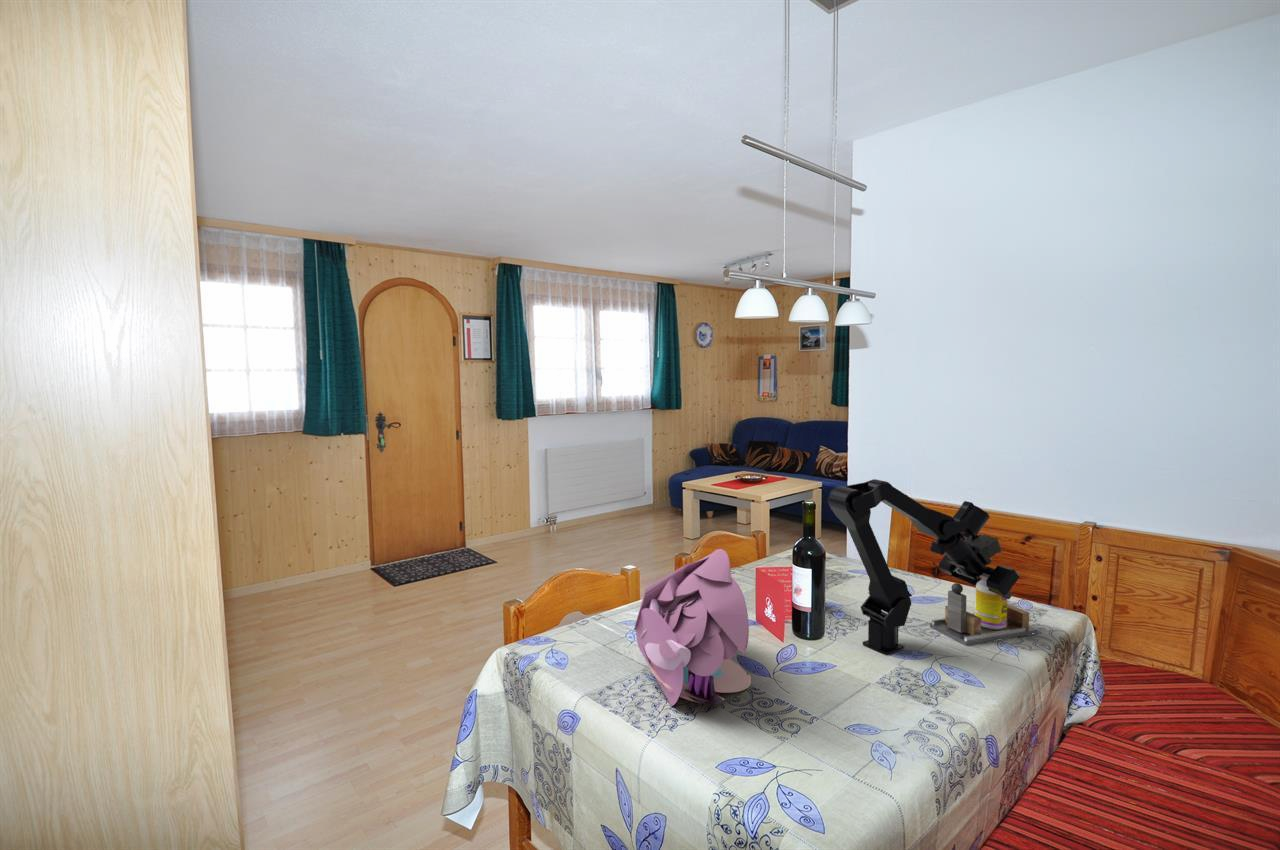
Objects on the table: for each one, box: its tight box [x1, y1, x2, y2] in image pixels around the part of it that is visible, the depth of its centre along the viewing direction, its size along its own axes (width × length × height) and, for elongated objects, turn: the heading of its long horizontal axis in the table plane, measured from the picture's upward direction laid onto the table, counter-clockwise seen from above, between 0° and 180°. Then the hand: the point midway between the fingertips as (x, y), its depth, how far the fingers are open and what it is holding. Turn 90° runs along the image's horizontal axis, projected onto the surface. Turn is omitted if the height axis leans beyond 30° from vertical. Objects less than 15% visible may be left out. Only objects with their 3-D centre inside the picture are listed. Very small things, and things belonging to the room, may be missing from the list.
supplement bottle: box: [974, 575, 1008, 630], centre depth 142 cm, size 7×7×13 cm
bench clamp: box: [929, 603, 1038, 646], centre depth 142 cm, size 21×11×5 cm, turn 106°
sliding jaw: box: [944, 582, 981, 635], centre depth 140 cm, size 4×9×11 cm, turn 16°
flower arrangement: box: [633, 548, 752, 707], centre depth 121 cm, size 35×24×28 cm
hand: (995, 592), depth 142 cm, fingers open, 7 cm apart
